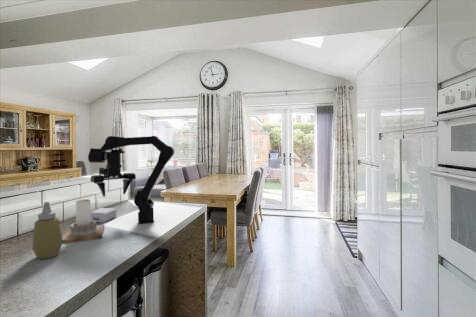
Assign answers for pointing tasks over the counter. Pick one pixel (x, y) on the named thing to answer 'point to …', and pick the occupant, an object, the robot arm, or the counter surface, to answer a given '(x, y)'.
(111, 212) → the charger
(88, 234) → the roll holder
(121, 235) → the counter surface
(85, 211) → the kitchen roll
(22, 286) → the counter surface
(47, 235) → the squeeze bottle
